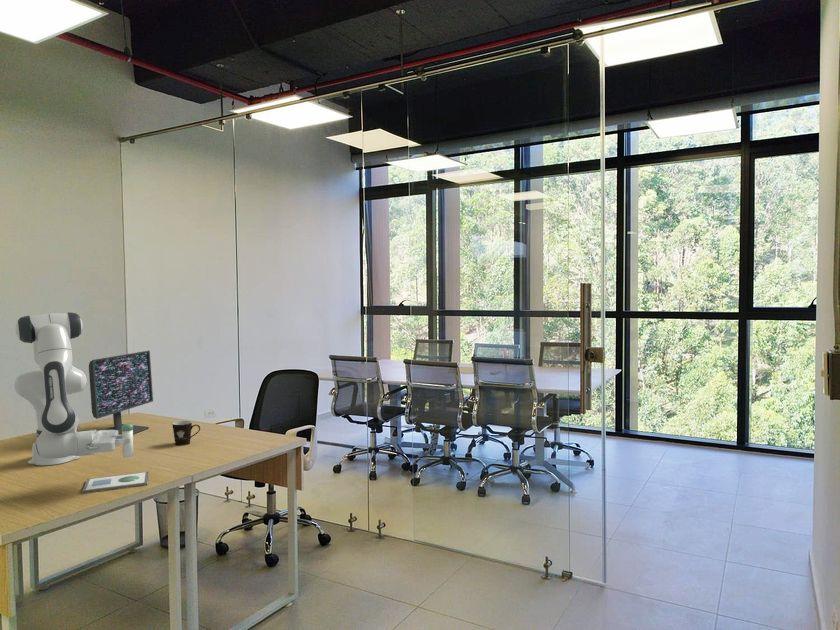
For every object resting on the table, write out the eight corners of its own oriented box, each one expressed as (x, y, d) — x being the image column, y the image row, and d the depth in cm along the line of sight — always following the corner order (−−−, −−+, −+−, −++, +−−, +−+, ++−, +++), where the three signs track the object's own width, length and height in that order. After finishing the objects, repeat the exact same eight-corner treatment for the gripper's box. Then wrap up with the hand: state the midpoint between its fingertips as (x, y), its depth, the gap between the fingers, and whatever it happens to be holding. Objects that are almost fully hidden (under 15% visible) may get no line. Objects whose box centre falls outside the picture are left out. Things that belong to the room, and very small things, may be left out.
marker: (122, 455, 218) (122, 424, 218) (134, 454, 220) (133, 423, 219) (122, 458, 215) (121, 426, 214) (133, 456, 216) (132, 425, 216)
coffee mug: (168, 445, 269) (168, 424, 268) (181, 440, 277) (180, 420, 277) (189, 447, 266) (189, 425, 265) (201, 442, 274) (201, 421, 274)
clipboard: (87, 480, 219) (87, 478, 219) (148, 473, 227) (148, 471, 227) (82, 493, 205) (82, 490, 205) (147, 485, 213) (147, 482, 213)
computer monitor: (109, 444, 272) (106, 360, 271) (78, 442, 275) (75, 359, 273) (163, 423, 315) (162, 350, 314) (137, 422, 318) (134, 350, 316)
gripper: (84, 440, 202) (128, 436, 208) (91, 428, 221) (131, 425, 226) (84, 458, 202) (128, 453, 208) (92, 444, 221) (132, 440, 227)
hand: (130, 438), depth 217 cm, fingers closed on marker, 4 cm apart
